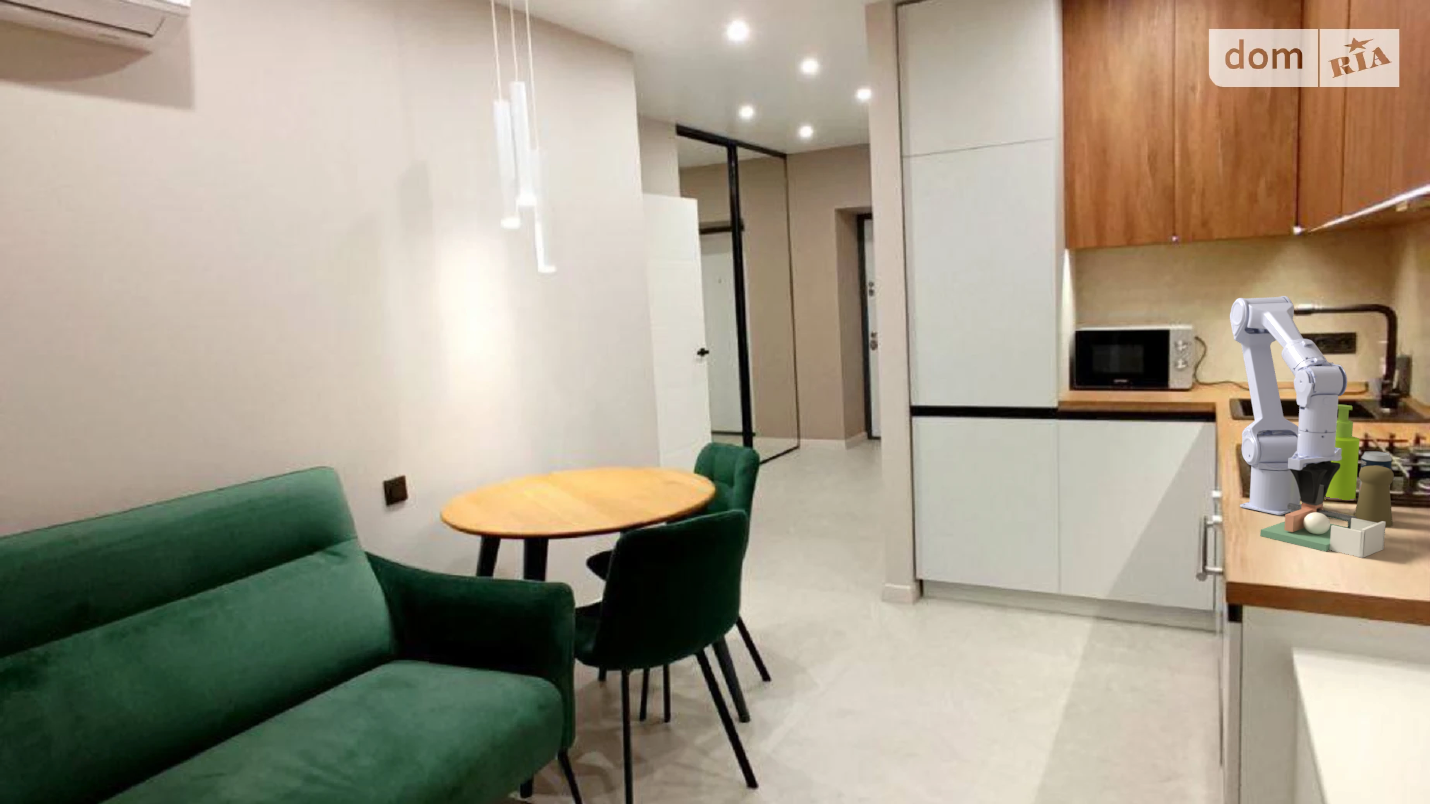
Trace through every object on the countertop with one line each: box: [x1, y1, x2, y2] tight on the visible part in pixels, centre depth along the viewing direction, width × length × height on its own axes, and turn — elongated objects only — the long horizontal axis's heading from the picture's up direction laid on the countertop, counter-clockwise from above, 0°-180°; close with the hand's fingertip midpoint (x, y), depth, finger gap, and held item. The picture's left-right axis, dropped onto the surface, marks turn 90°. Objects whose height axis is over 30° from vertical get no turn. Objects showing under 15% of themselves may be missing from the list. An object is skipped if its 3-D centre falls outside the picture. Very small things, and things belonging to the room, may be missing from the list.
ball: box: [1303, 512, 1331, 534], centre depth 152 cm, size 4×4×4 cm
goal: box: [1329, 518, 1386, 559], centre depth 146 cm, size 7×5×5 cm
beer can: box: [1358, 450, 1393, 495], centre depth 165 cm, size 5×5×12 cm
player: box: [1284, 485, 1324, 532], centre depth 155 cm, size 9×2×7 cm, turn 119°
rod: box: [1288, 503, 1357, 529], centre depth 155 cm, size 1×11×3 cm, turn 29°
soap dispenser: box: [1326, 403, 1360, 500], centre depth 175 cm, size 6×7×20 cm
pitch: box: [1260, 520, 1348, 552], centre depth 154 cm, size 13×11×1 cm
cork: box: [1353, 466, 1395, 528], centre depth 159 cm, size 6×6×11 cm
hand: (1312, 501), depth 156 cm, fingers closed on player, 2 cm apart
